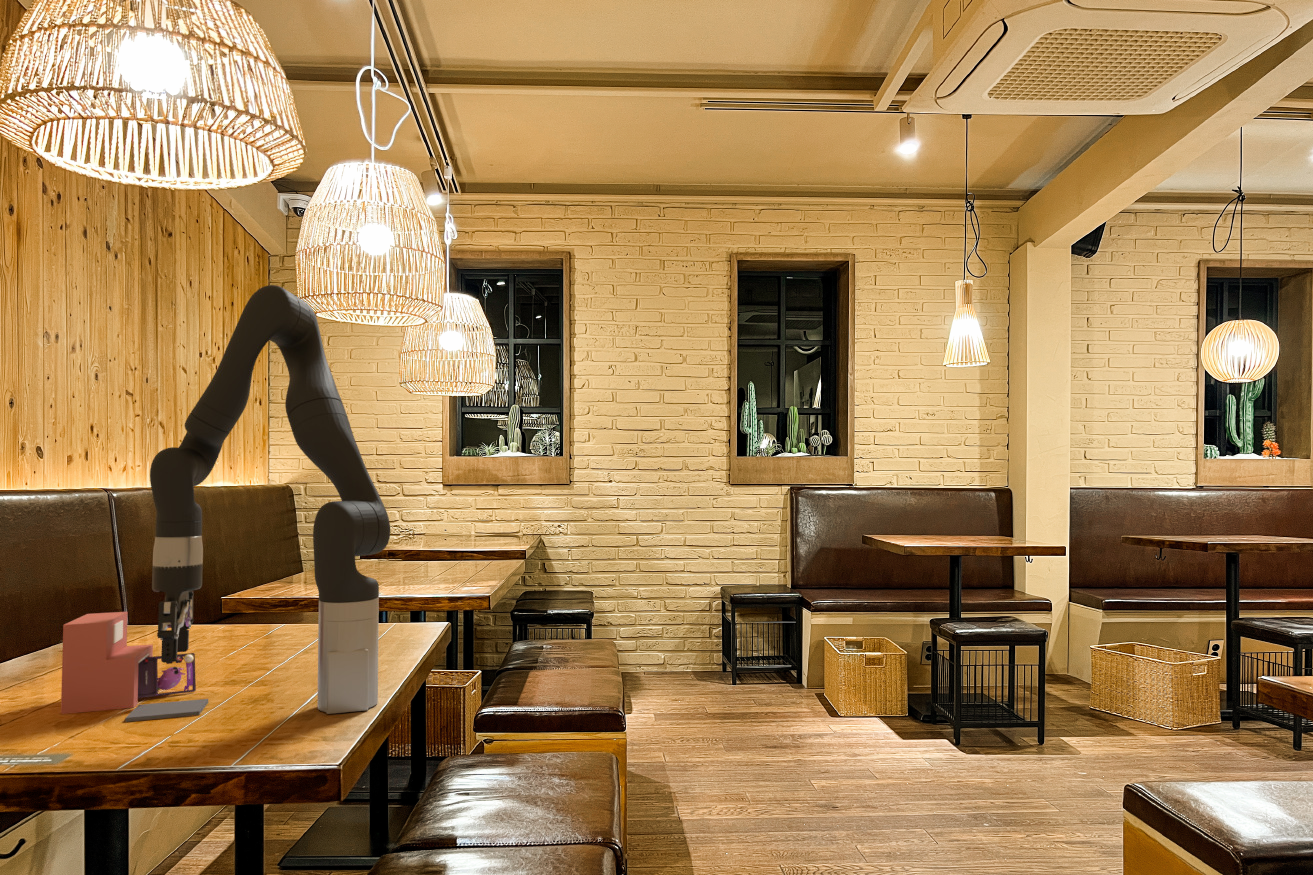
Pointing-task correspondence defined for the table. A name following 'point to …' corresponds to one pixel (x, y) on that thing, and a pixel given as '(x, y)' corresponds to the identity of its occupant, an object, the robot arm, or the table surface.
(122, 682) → the dispenser
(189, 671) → the boxed purple toy
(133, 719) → the mat
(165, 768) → the table surface
